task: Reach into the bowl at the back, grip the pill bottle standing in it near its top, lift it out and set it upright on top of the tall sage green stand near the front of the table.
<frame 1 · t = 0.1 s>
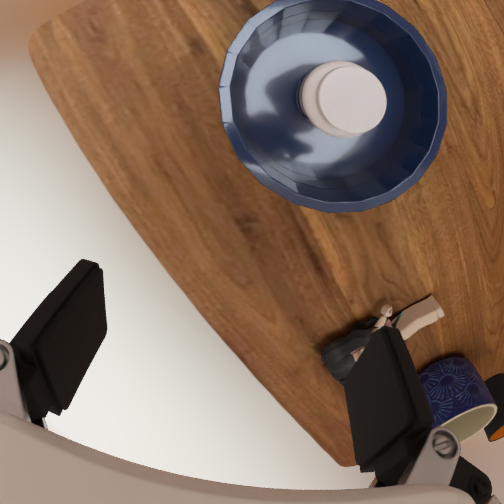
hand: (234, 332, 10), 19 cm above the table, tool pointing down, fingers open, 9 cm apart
mug: (496, 382, 41), on the table
toy figure: (377, 324, 34), on the table
pill bottle: (326, 97, 23), resting on bowl
planter: (437, 374, 39), on the table
bowl: (325, 97, 23), on the table
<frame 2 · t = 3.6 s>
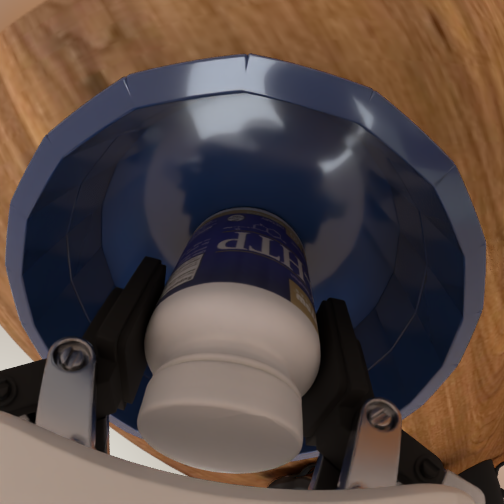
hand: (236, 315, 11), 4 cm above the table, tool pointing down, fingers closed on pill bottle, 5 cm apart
mug: (480, 465, 33), on the table
toy figure: (335, 461, 26), on the table
pill bottle: (245, 257, 14), resting on bowl, touching gripper
bowl: (246, 255, 14), on the table
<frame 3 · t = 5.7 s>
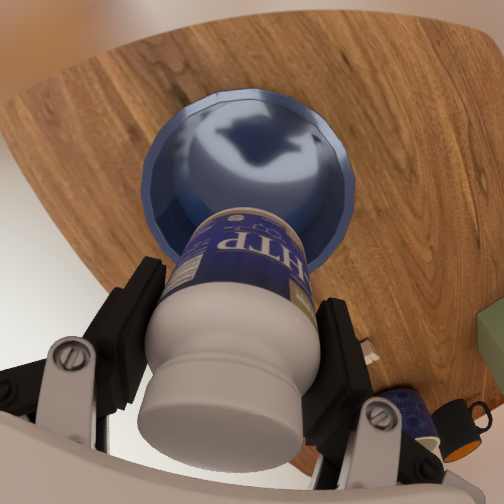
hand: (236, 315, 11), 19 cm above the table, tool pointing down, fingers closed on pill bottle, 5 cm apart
mug: (455, 406, 46), on the table
stand: (499, 318, 35), on the table
pill bottle: (245, 257, 14), point 15 cm above the table, touching gripper
planter: (387, 402, 44), on the table
bowl: (250, 177, 28), on the table
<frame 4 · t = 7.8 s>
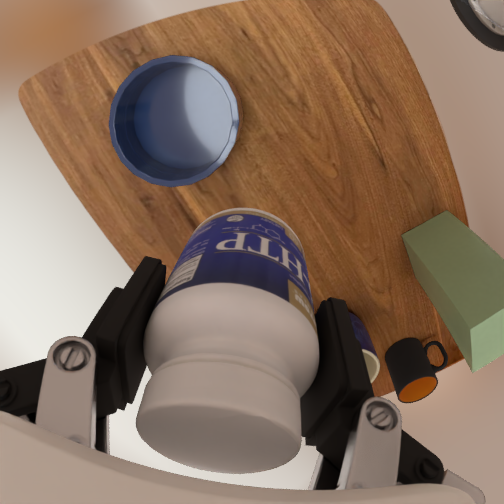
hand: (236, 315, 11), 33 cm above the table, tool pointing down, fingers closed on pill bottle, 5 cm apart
mug: (410, 346, 56), on the table
stand: (431, 244, 45), on the table
pill bottle: (245, 257, 14), point 29 cm above the table, touching gripper
planter: (331, 328, 54), on the table
bowl: (183, 117, 38), on the table
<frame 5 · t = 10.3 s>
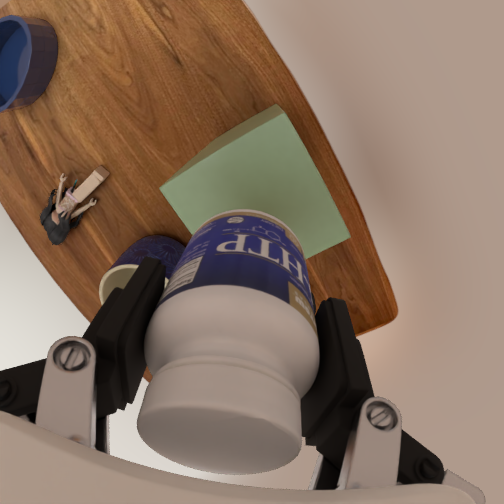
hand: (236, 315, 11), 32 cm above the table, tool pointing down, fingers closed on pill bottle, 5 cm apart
stand: (263, 150, 39), on the table
toy figure: (77, 196, 43), on the table
pill bottle: (245, 258, 14), point 28 cm above the table, touching gripper
planter: (164, 262, 48), on the table
bowl: (23, 63, 32), on the table
when the fingers open (26 cm above the table, at t = 12.2 s): pill bottle stays where it is, resting on stand.
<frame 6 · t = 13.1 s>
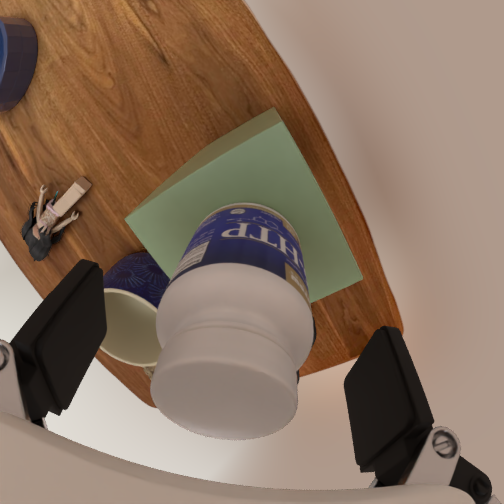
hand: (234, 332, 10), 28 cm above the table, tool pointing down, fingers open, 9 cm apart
stand: (259, 159, 35), on the table
toy figure: (59, 209, 39), on the table
pill bottle: (246, 248, 15), point 22 cm above the table, touching stand
planter: (152, 280, 44), on the table
bowl: (3, 65, 28), on the table
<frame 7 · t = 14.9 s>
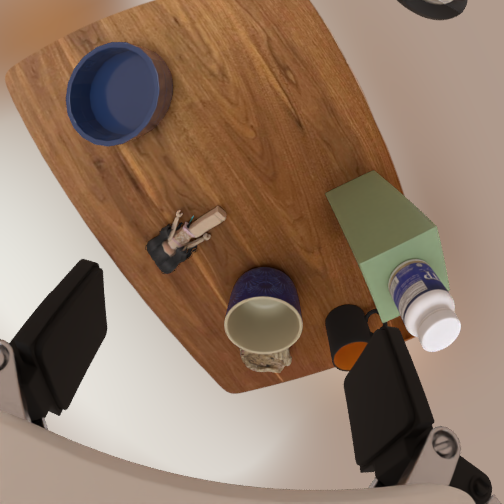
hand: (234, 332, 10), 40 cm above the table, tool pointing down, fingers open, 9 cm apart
mug: (352, 315, 60), on the table
seashell: (265, 343, 65), on the table
stand: (359, 204, 49), on the table
toy figure: (186, 229, 53), on the table
pill bottle: (408, 278, 30), point 22 cm above the table, touching stand
planter: (264, 287, 58), on the table
bowl: (127, 92, 42), on the table
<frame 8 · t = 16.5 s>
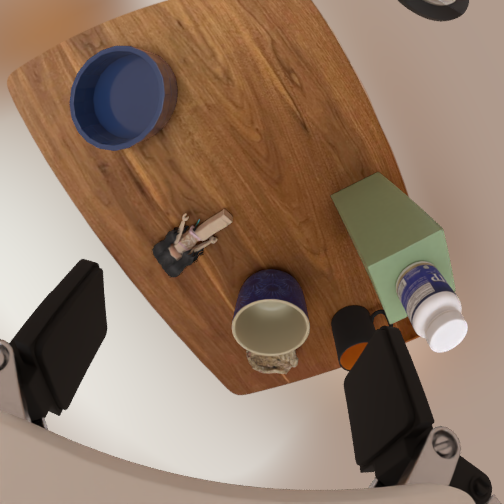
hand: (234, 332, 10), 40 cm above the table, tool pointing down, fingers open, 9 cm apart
mug: (358, 315, 60), on the table
seashell: (272, 344, 65), on the table
stand: (364, 206, 49), on the table
toy figure: (192, 233, 53), on the table
pill bottle: (415, 279, 30), point 22 cm above the table, touching stand
planter: (271, 289, 58), on the table
bowl: (131, 96, 42), on the table
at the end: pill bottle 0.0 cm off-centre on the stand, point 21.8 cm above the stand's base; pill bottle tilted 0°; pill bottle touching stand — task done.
